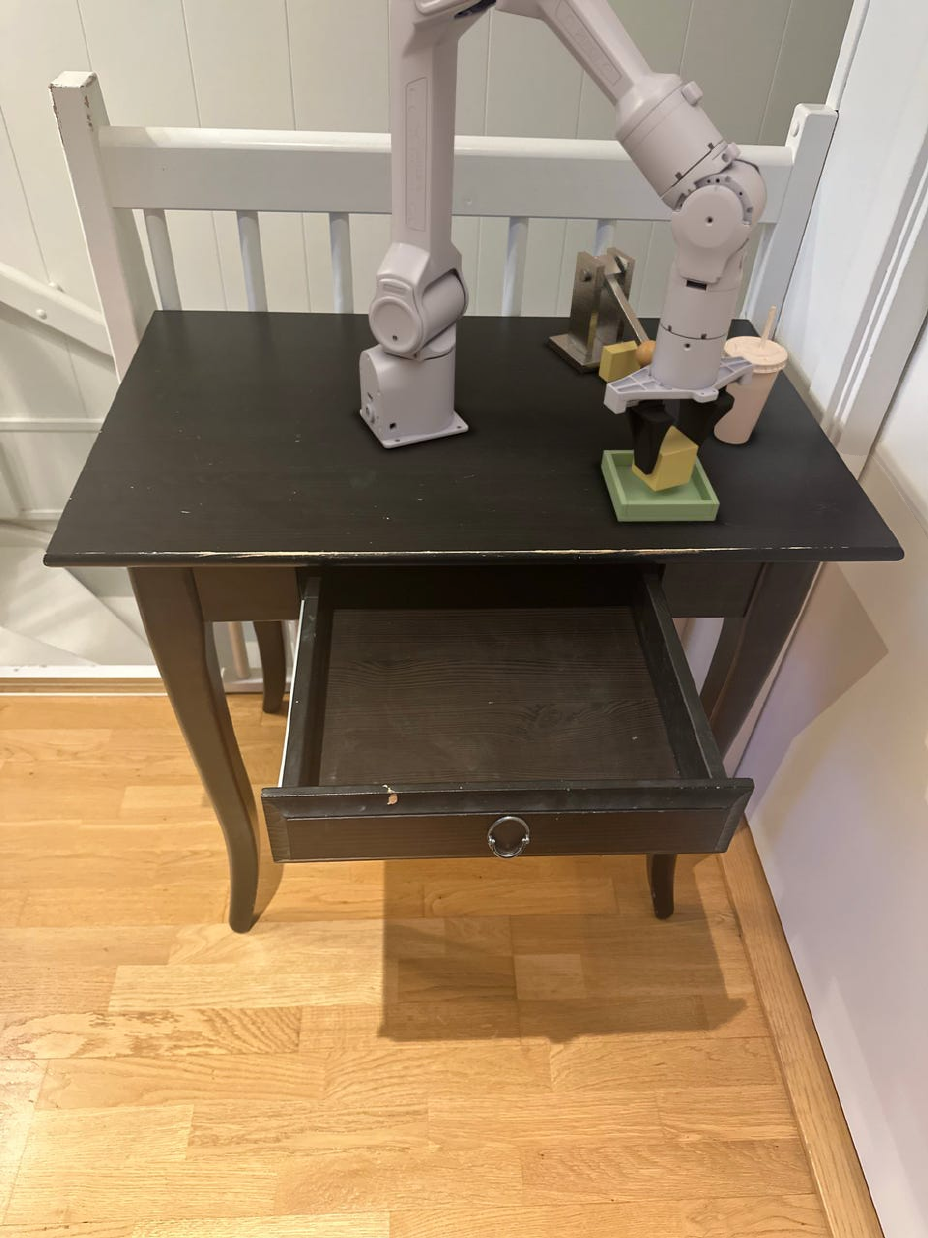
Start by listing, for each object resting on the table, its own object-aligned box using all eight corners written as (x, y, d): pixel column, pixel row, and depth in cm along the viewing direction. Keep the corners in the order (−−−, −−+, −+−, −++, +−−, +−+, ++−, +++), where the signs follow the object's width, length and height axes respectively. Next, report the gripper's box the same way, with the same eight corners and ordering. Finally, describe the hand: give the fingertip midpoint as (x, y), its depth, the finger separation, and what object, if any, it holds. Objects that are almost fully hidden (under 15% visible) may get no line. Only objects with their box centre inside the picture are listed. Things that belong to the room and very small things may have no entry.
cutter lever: (660, 371, 94) (672, 353, 92) (638, 376, 93) (649, 358, 91) (605, 270, 99) (614, 250, 96) (583, 274, 98) (592, 254, 95)
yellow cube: (654, 492, 78) (663, 455, 76) (630, 470, 81) (638, 433, 78) (689, 482, 80) (698, 446, 77) (665, 461, 82) (673, 425, 80)
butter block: (638, 376, 99) (644, 347, 97) (607, 382, 98) (612, 353, 95) (629, 368, 101) (634, 340, 98) (598, 375, 99) (602, 346, 97)
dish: (618, 521, 78) (621, 503, 77) (600, 467, 85) (603, 449, 83) (714, 520, 79) (720, 503, 77) (690, 466, 85) (694, 449, 84)
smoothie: (763, 454, 87) (805, 324, 78) (701, 446, 88) (734, 316, 79) (760, 423, 92) (799, 297, 82) (700, 416, 93) (732, 290, 83)
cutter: (637, 362, 102) (655, 263, 94) (581, 374, 99) (595, 273, 91) (602, 335, 107) (616, 239, 99) (547, 345, 104) (558, 248, 96)
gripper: (649, 359, 65) (621, 503, 74) (793, 330, 70) (750, 469, 79) (601, 323, 70) (580, 463, 79) (739, 298, 74) (704, 433, 84)
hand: (662, 463), depth 79 cm, fingers closed on yellow cube, 4 cm apart
